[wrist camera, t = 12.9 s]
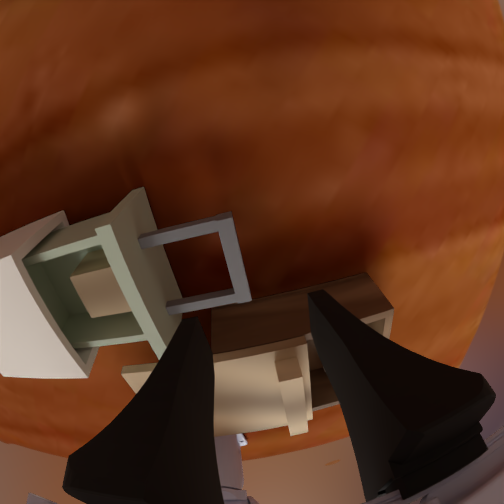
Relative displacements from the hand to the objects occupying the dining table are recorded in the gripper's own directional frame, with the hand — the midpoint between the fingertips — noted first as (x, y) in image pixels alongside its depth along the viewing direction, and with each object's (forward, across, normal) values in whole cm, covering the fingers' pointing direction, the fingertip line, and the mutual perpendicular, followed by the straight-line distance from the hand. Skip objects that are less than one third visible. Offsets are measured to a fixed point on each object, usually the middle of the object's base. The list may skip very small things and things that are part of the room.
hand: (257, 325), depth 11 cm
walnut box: (+9, -3, +10) cm, 14 cm away
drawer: (+9, +7, 0) cm, 11 cm away
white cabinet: (+9, +16, 0) cm, 19 cm away
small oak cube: (+8, +8, 0) cm, 11 cm away
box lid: (+4, +4, +10) cm, 12 cm away
